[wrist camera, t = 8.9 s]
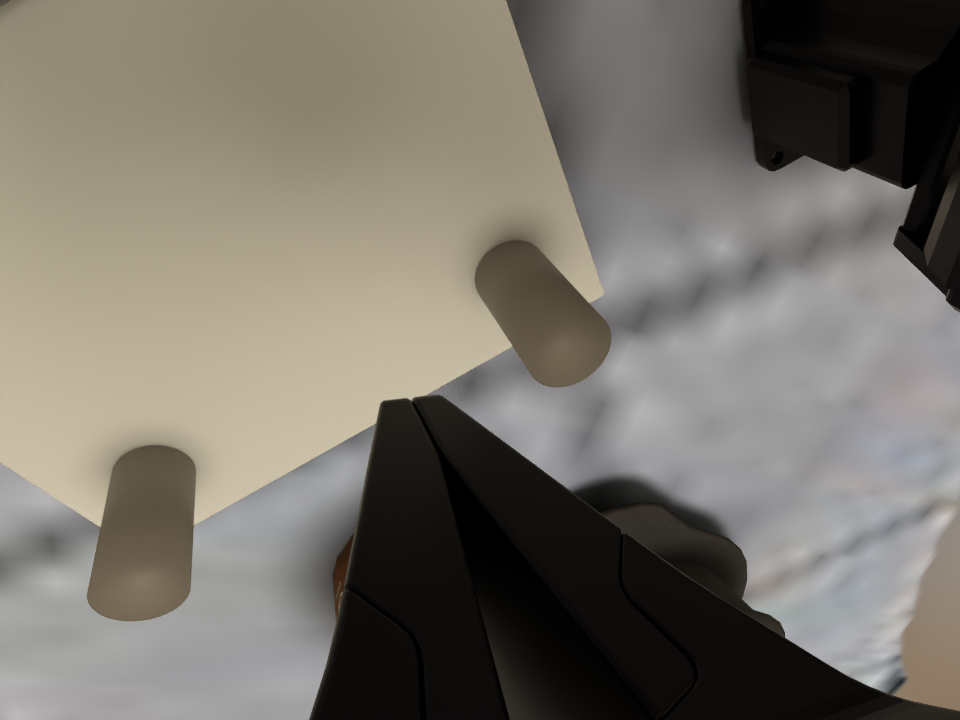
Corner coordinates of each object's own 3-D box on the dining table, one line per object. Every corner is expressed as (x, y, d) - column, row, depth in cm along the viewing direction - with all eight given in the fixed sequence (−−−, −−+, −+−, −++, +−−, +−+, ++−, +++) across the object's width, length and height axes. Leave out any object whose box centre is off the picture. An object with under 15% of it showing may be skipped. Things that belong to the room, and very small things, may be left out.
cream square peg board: (304, -501, 11) (367, -821, 6) (579, 268, 23) (676, 368, 18) (-579, -8, 11) (-1211, 58, 6) (147, 511, 23) (126, 677, 18)
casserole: (363, 601, 31) (400, 787, 24) (692, 413, 30) (818, 549, 24) (532, 740, 47) (582, 873, 40) (748, 616, 46) (833, 731, 40)
